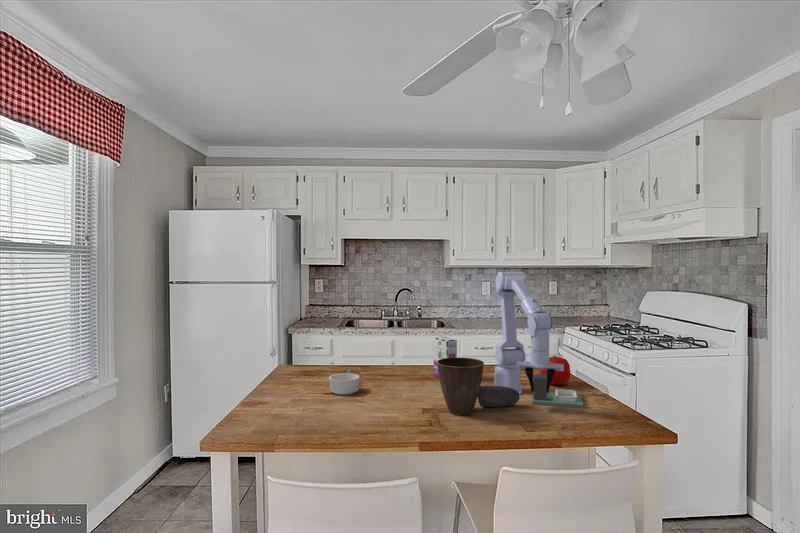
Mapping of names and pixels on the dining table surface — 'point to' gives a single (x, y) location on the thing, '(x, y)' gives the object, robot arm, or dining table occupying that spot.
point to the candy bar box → (443, 350)
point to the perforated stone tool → (497, 396)
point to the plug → (540, 387)
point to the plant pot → (460, 383)
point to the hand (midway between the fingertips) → (540, 391)
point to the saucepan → (344, 383)
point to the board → (561, 399)
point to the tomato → (559, 376)
